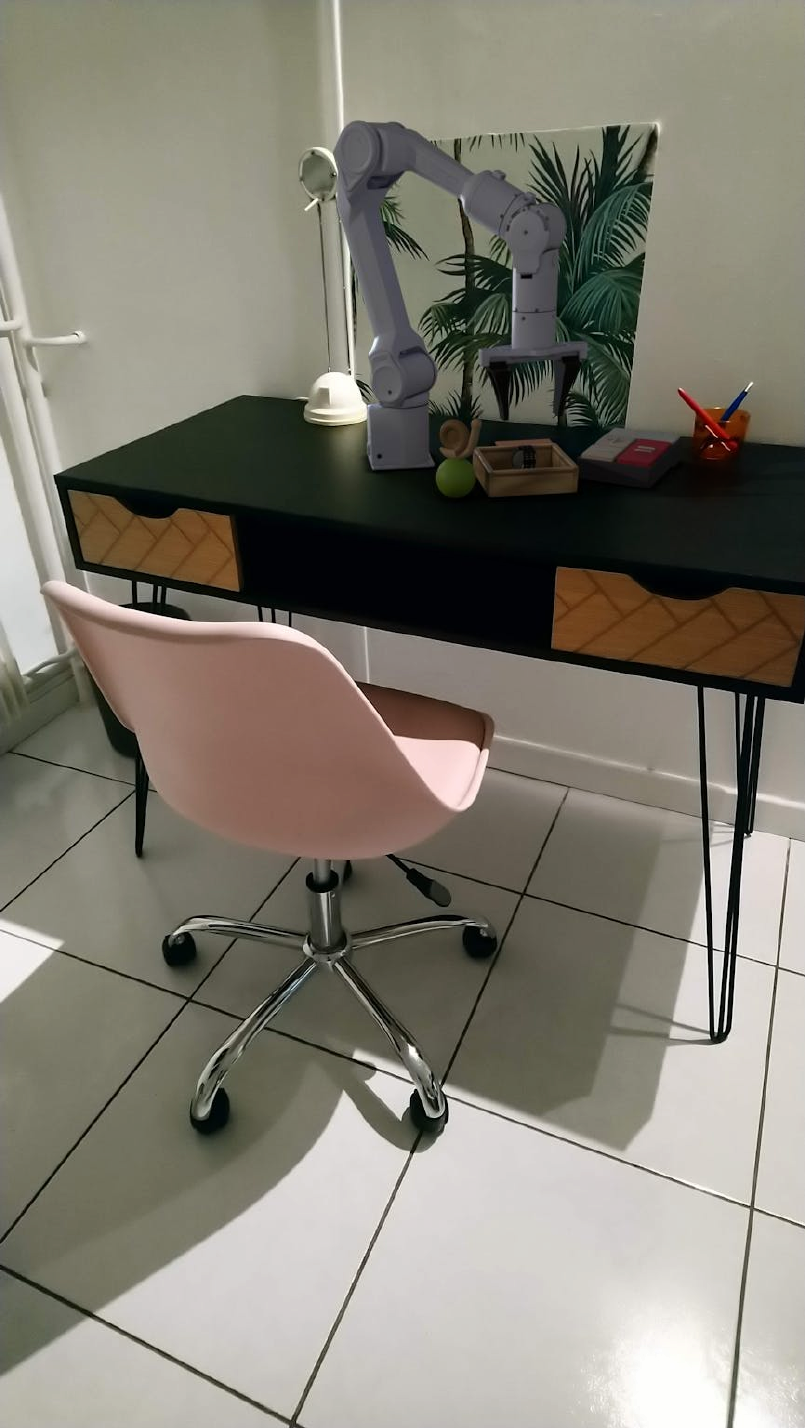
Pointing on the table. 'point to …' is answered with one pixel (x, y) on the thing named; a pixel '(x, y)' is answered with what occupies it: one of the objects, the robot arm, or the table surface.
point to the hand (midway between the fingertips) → (531, 417)
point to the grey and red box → (630, 457)
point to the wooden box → (525, 471)
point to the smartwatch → (524, 457)
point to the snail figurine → (457, 457)
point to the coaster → (523, 442)
